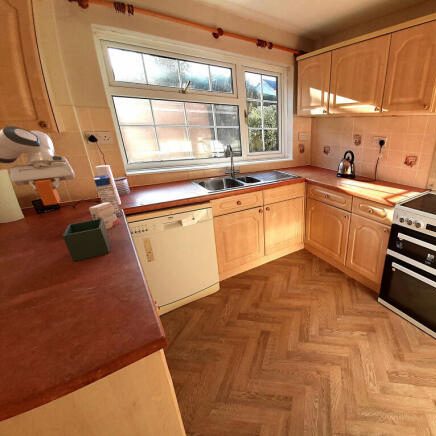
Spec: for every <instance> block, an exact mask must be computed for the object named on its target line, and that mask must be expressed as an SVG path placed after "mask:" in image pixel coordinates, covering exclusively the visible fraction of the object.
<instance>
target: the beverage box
mask: <svg viewBox="0 0 436 436" xmlns="http://www.w3.org/2000/svg"><path fill="white" fill-rule="evenodd" d="M93 181H94V185H95V187H96V190H97V192H98V196H99V199H100V201H101V204H102V203H106V202H109V203H112V206H113V209H114V211H115V214H116V217H117V218H118V217H122V216H123V215H122V212H121V209H120V205H118V202H117V199H116V196H115V192H114V189H113V186H112V183H111V180H110V177H109V175H103V176H98V175H96V176H93Z"/></svg>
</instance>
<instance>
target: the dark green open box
mask: <svg viewBox="0 0 436 436" xmlns="http://www.w3.org/2000/svg"><path fill="white" fill-rule="evenodd" d="M62 238H63V241H64V244H65V246H66V248H67V250H68V254H69V255H70V258H71V260H72V262H73V263H74V262H78V261H82V260H86V259H90V258H95V257H99V256H103V255H107V254H110V250H111V241H112V240H111V238H110V235H109V232H108V229H106V226H105V223H104V220H103V218H101V219H95V220H93V219H90V220H85V221H84V220H83V221H79V222H74V223H70V224H68V225H67V226H66V228H65V230H64V232H63V234H62Z"/></svg>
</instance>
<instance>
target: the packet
mask: <svg viewBox="0 0 436 436" xmlns="http://www.w3.org/2000/svg"><path fill="white" fill-rule="evenodd" d="M54 183H55V182H53V180H52V179H45V180H38V181H36V182H35V186H36V188H37V190H38V191H37V192H38V195H39V197H40V199H41V202H42V204H43V206H50V205H52V206H53V205H57V204H60V202H61V197H60V195H59V193H58V189H53V188H52V184H54Z"/></svg>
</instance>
